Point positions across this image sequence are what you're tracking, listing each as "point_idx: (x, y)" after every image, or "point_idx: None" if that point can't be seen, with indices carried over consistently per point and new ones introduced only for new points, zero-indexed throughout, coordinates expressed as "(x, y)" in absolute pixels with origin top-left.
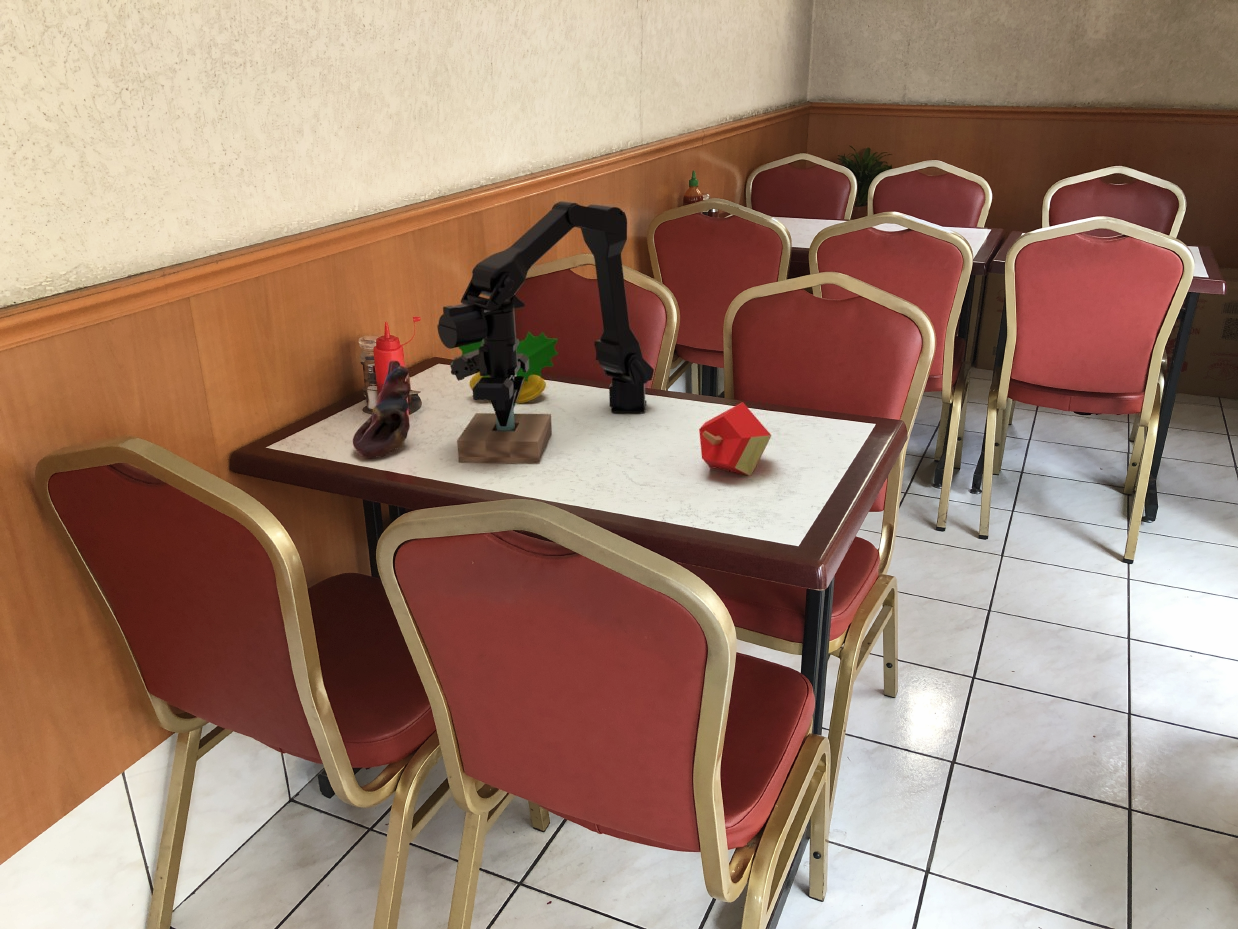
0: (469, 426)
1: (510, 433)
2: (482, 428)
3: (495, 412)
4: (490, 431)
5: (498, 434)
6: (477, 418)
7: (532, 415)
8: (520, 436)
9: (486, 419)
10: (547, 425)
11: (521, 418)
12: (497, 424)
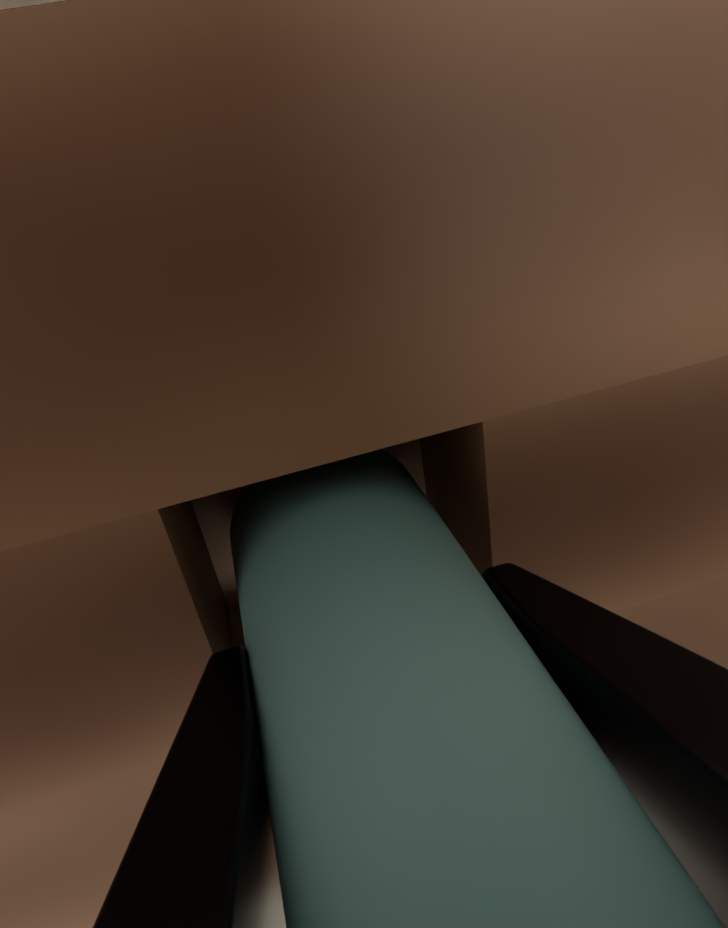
0: (228, 50)
1: (154, 738)
2: (212, 340)
3: (109, 896)
4: (131, 509)
5: (63, 651)
6: (638, 39)
7: (700, 647)
8: (111, 846)
9: (593, 225)
10: None
11: (624, 606)
12: (270, 585)
